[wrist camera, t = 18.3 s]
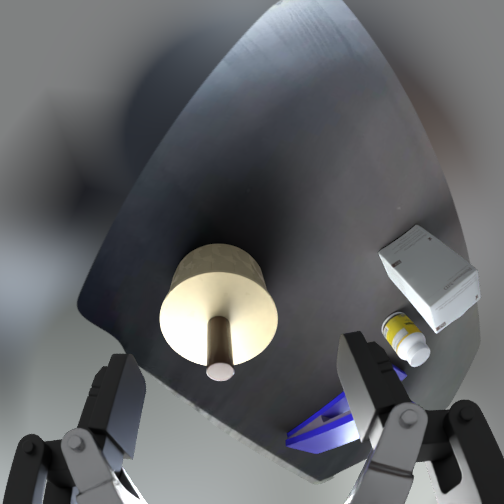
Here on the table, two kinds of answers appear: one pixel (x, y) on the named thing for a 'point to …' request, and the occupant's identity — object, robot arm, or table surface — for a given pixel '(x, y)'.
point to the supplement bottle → (406, 339)
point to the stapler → (328, 426)
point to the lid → (218, 320)
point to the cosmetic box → (431, 276)
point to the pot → (218, 262)
